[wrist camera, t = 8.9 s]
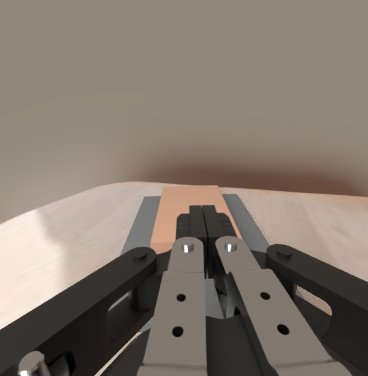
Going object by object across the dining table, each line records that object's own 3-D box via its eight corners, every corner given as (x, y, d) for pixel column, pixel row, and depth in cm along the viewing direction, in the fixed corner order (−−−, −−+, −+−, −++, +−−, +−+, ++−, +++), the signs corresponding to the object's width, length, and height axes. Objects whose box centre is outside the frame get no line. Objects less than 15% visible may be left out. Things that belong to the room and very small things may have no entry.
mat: (315, 326, 16) (317, 320, 15) (91, 333, 16) (90, 327, 15) (236, 197, 38) (236, 194, 38) (144, 199, 38) (144, 196, 38)
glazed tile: (243, 240, 21) (217, 185, 36) (150, 242, 21) (163, 186, 36) (241, 258, 22) (217, 197, 37) (151, 260, 22) (164, 198, 37)
